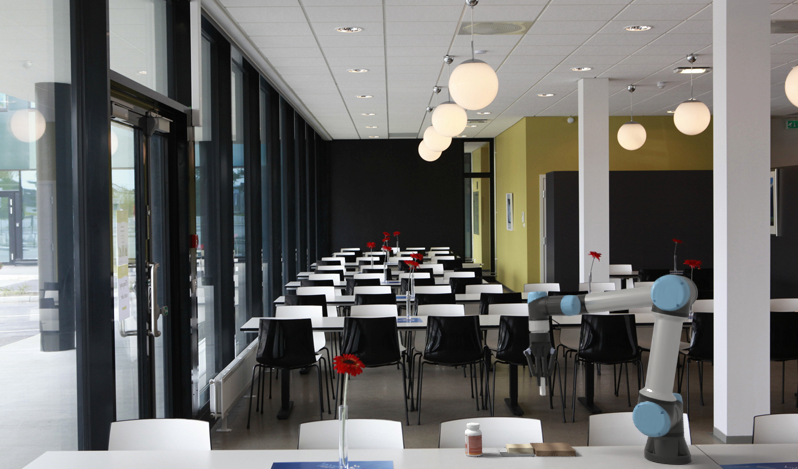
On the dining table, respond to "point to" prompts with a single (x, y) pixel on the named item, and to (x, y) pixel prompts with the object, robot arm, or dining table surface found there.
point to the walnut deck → (553, 449)
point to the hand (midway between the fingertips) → (542, 395)
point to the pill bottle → (473, 440)
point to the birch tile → (519, 448)
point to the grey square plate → (515, 455)
